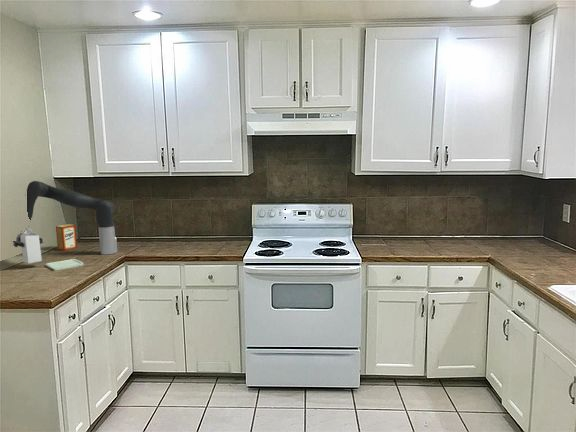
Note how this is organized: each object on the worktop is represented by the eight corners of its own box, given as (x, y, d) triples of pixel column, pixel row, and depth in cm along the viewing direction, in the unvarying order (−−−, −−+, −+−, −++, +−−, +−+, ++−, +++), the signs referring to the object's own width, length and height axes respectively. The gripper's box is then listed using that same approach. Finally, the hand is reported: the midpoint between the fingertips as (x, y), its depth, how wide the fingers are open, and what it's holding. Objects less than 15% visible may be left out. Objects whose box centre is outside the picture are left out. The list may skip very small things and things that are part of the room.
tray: (74, 260, 265) (74, 258, 265) (84, 265, 254) (84, 263, 254) (45, 265, 254) (45, 263, 254) (54, 270, 243) (53, 268, 243)
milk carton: (36, 259, 257) (32, 227, 254) (41, 261, 253) (38, 228, 250) (23, 262, 252) (19, 229, 249) (28, 264, 247) (24, 230, 244)
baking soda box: (64, 250, 293) (61, 226, 291) (57, 249, 296) (55, 225, 294) (76, 247, 301) (75, 224, 299) (70, 246, 304) (68, 223, 302)
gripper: (9, 235, 255) (16, 239, 244) (36, 231, 265) (44, 235, 253) (10, 248, 257) (17, 252, 245) (38, 244, 266) (46, 248, 254)
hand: (31, 244), depth 249 cm, fingers closed on milk carton, 8 cm apart
